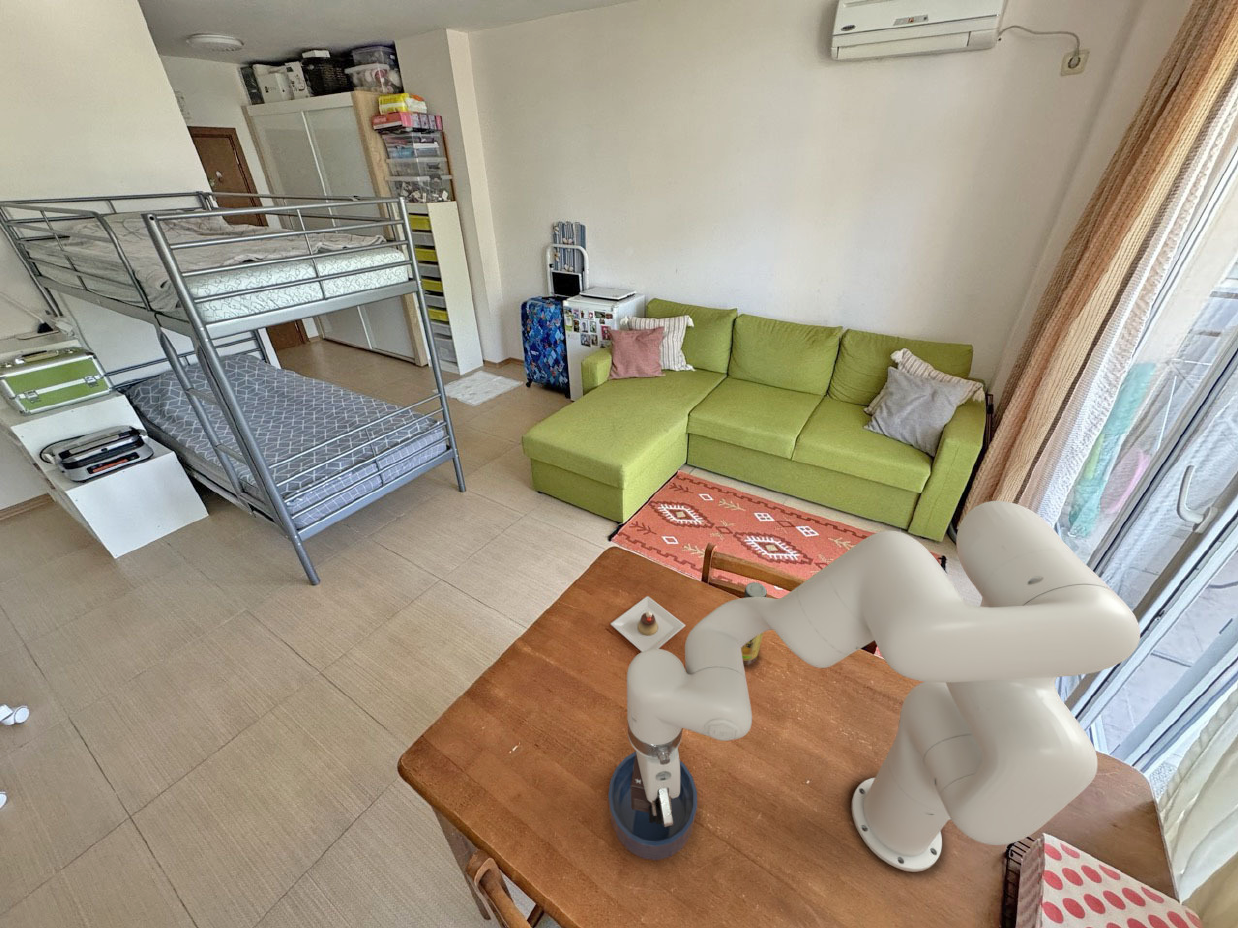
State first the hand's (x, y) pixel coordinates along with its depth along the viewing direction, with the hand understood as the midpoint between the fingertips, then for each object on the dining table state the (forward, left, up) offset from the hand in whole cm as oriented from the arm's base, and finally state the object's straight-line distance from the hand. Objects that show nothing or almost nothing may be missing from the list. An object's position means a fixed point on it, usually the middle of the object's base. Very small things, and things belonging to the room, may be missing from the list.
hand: (652, 787), depth 76 cm
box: (0, 0, -2) cm, 2 cm away
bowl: (0, 0, -7) cm, 7 cm away
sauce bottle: (-26, -24, -7) cm, 37 cm away
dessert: (-8, -35, -7) cm, 37 cm away
